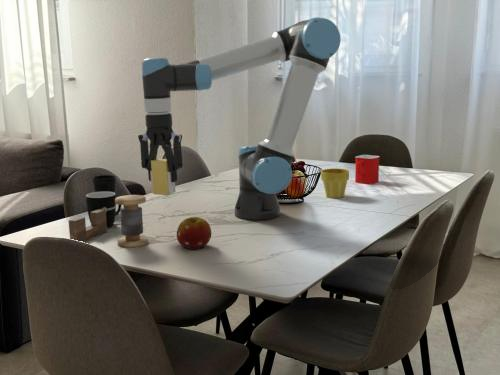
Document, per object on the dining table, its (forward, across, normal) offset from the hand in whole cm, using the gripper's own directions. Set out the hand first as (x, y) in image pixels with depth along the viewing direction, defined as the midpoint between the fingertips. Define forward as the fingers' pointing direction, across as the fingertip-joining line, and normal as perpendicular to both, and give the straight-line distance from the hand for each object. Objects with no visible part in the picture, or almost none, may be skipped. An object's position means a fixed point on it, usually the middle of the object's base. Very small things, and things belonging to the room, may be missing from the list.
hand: (163, 192), depth 178 cm
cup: (+12, +34, -17) cm, 39 cm away
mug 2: (+15, -39, -94) cm, 103 cm away
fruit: (+13, -14, +9) cm, 21 cm away
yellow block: (0, 0, 0) cm, 0 cm away
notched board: (+12, +19, +12) cm, 25 cm away
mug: (+12, +23, -2) cm, 26 cm away
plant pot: (+14, -34, -65) cm, 75 cm away
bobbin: (+12, +4, +12) cm, 18 cm away
